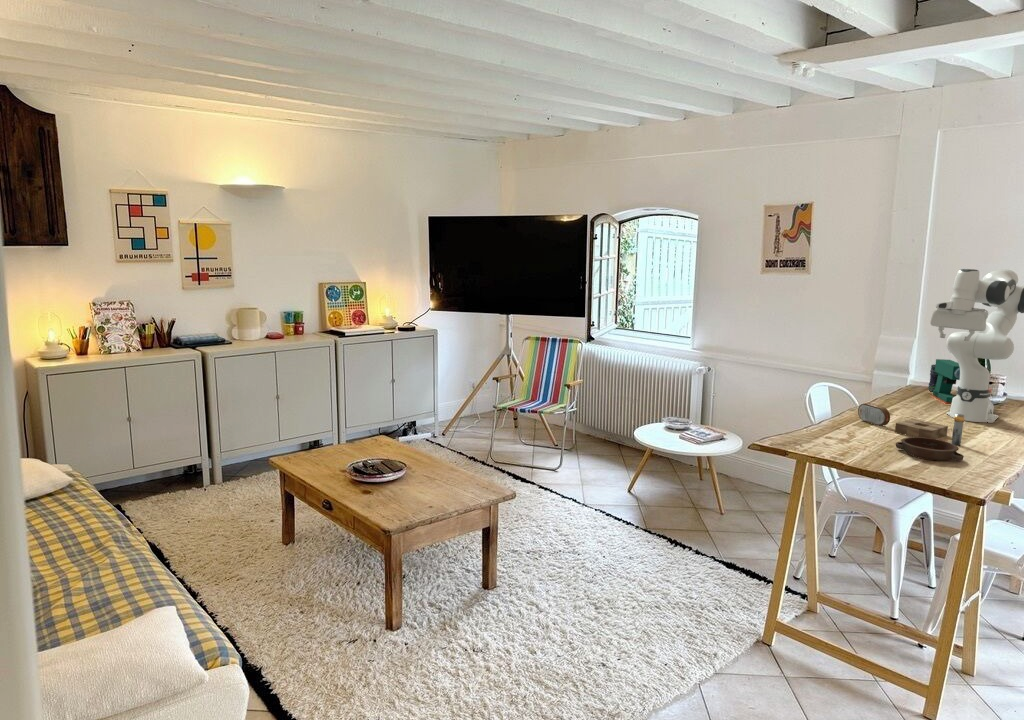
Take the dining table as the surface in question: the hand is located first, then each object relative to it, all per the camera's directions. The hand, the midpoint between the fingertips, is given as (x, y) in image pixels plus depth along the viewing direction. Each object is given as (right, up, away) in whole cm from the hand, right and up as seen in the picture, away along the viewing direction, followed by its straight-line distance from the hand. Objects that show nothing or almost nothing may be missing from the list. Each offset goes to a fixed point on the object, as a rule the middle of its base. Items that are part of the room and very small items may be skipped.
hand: (954, 339), depth 292 cm
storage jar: (+39, -27, +75) cm, 89 cm away
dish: (-32, -45, -36) cm, 66 cm away
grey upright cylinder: (-13, -42, -21) cm, 48 cm away
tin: (-29, -37, +10) cm, 48 cm away
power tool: (+31, -31, +51) cm, 67 cm away
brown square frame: (-18, -39, -6) cm, 44 cm away
